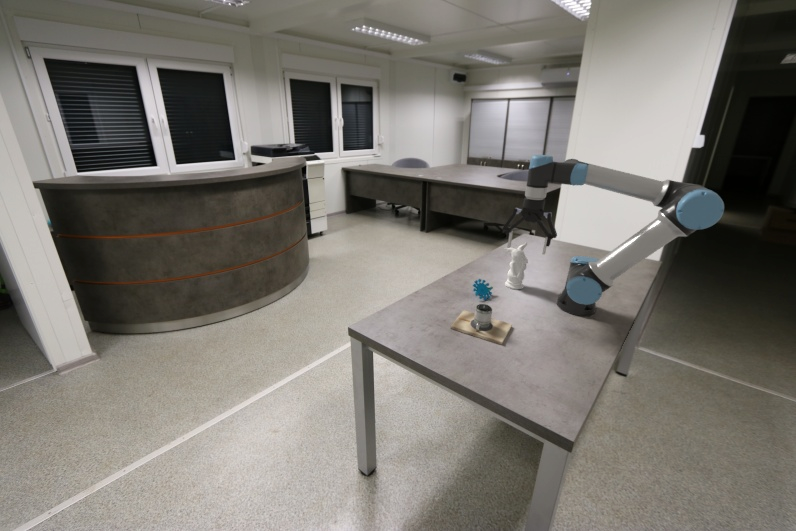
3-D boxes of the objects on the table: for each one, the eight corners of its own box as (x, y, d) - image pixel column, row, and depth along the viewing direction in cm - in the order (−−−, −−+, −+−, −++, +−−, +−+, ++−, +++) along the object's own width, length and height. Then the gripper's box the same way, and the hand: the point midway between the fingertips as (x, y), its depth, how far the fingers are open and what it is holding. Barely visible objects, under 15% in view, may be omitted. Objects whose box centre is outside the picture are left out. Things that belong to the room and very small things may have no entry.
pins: (487, 319, 140) (488, 312, 139) (478, 332, 131) (479, 325, 130) (484, 318, 141) (485, 311, 140) (475, 331, 132) (476, 324, 131)
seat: (495, 323, 137) (495, 322, 137) (488, 333, 131) (488, 332, 131) (474, 317, 141) (474, 316, 141) (467, 326, 135) (467, 326, 134)
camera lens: (472, 327, 134) (474, 309, 131) (474, 318, 140) (476, 301, 136) (489, 330, 132) (492, 311, 129) (490, 321, 138) (493, 304, 135)
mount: (511, 326, 137) (512, 323, 137) (501, 344, 126) (502, 341, 126) (463, 312, 147) (463, 310, 146) (450, 328, 136) (450, 325, 135)
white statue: (515, 292, 165) (522, 249, 157) (493, 283, 174) (498, 241, 165) (529, 284, 173) (536, 243, 164) (507, 276, 181) (512, 236, 172)
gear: (477, 299, 154) (471, 278, 158) (470, 303, 159) (464, 283, 163) (497, 298, 159) (491, 278, 163) (489, 302, 164) (483, 282, 167)
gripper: (571, 200, 130) (560, 253, 138) (504, 192, 141) (497, 242, 149) (569, 203, 124) (557, 259, 132) (499, 195, 135) (492, 247, 143)
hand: (525, 250), depth 141 cm, fingers open, 13 cm apart
